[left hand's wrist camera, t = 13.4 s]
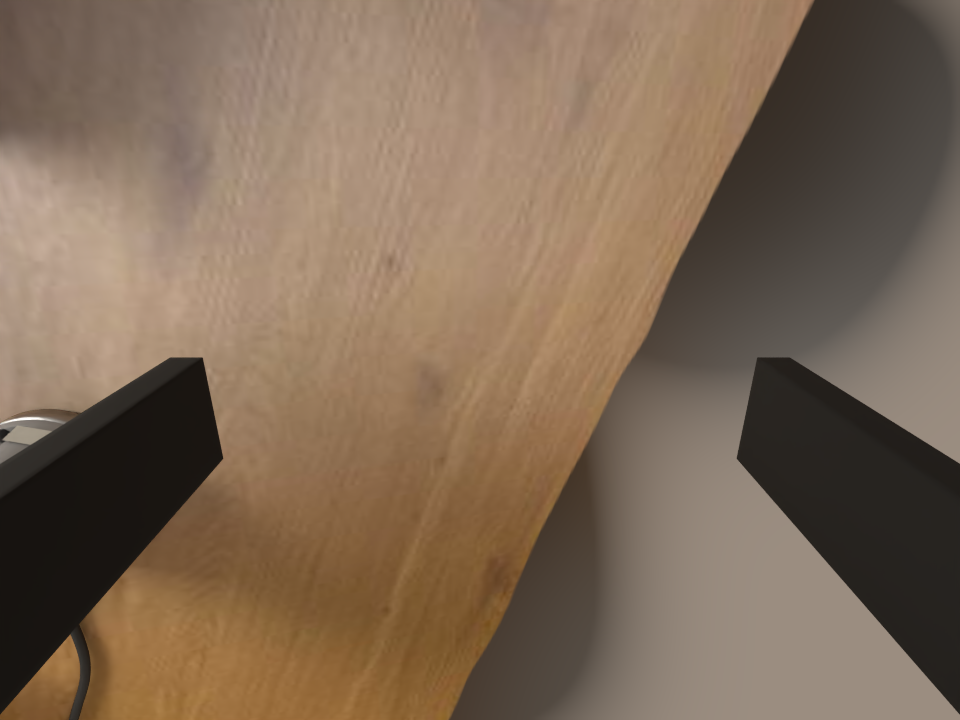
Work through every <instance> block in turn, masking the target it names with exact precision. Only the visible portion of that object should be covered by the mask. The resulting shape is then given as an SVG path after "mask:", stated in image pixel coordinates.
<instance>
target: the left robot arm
mask: <svg viewBox="0 0 960 720" xmlns="http://www.w3.org/2000/svg"><path fill="white" fill-rule="evenodd" d="M222 459H223V455H222V450H221V445H220V440H219V435H218V430H217V425H216V420H215V416H214V411H213V406H212V401H211V396H210V391H209V386H208V381H207V376H206V372H205V367H204V362H203V358H169V359H167V360H166V361H164V362H162V363H161V364H159V365H158V366H156V367H154V368H153V369H151V370H150V371H148V372H146V373H145V374H143V375H142V376H140V377H138V378H137V379H135V380H134V381H132V382H130V383H129V384H127V385H126V386H124V387H122V388H121V389H119V390H118V391H116V392H114V393H113V394H111V395H110V396H108V397H106V398H105V399H103V400H102V401H100V402H98V403H97V404H95V405H94V406H92V407H90V408H89V409H87V410H86V411H84V412H82V413H81V414H77V413H73V412H69V411H62V410H52V409H41V410H32V411H27V412H23V413H20V414H17V415H15V416H13V417H10V418H8V419H7V420H5V421H3V422H1V423H0V714H1V713H2V712H3V711H4V710H5V708H6V707H7V706H8V705H9V704H10V703H11V701H12V700H13V699H14V698H15V697H16V696H17V695H18V693H19V692H20V691H21V690H22V689H23V688H24V687H25V685H26V684H27V683H28V682H29V681H30V680H31V679H32V677H33V676H34V675H35V674H36V673H37V672H38V671H39V669H40V668H41V667H42V666H43V665H44V664H45V662H46V661H47V660H48V659H49V658H50V657H51V656H52V654H53V653H54V652H55V651H56V650H57V649H58V648H59V646H60V645H61V644H62V643H63V642H64V641H65V640H66V638H67V637H68V636H69V635H70V634H71V636H72V639H73V641H74V644H75V647H76V649H77V653H78V656H79V661H80V682H79V687H78V690H77V694H76V697H75V700H74V703H73V707H72V710H71V714H70V717H69V720H78V719H79V716H80V712H81V709H82V706H83V702H84V699H85V696H86V693H87V690H88V686H89V681H90V672H91V666H90V656H89V651H88V647H87V644H86V641H85V638H84V635H83V633H82V630H81V628H80V625H79V624H80V622H81V621H82V620H83V619H84V618H85V617H86V615H87V614H88V613H89V612H90V611H91V610H92V609H93V607H94V606H95V605H96V604H97V603H98V602H99V601H100V599H101V598H102V597H103V596H104V595H105V594H106V593H107V591H108V590H109V589H110V588H111V587H112V586H113V585H114V583H115V582H116V581H117V580H118V579H119V578H120V576H121V575H122V574H123V573H124V572H125V571H126V570H127V568H128V567H129V566H130V565H131V564H132V563H133V562H134V560H135V559H136V558H137V557H138V556H139V555H140V554H141V552H142V551H143V550H144V549H145V548H146V547H147V546H148V544H149V543H150V542H151V541H152V540H153V539H154V537H155V536H156V535H157V534H158V533H159V532H160V531H161V529H162V528H163V527H164V526H165V525H166V524H167V523H168V521H169V520H170V519H171V518H172V517H173V516H174V515H175V513H176V512H177V511H178V510H179V509H180V508H181V507H182V505H183V504H184V503H185V502H186V501H187V500H188V498H189V497H190V496H191V495H192V494H193V493H194V492H195V490H196V489H197V488H198V487H199V486H200V485H201V484H202V482H203V481H204V480H205V479H206V478H207V477H208V476H209V474H210V473H211V472H212V471H213V470H214V469H215V468H216V466H217V465H218V464H219V463H220V462H221V461H222ZM737 459H738V461H739V462H740V463H741V464H742V465H743V466H744V468H745V469H746V470H747V471H748V472H749V473H750V474H751V476H752V477H753V478H754V479H755V480H756V481H757V482H758V484H759V485H760V486H761V487H762V488H763V489H764V490H765V492H766V493H767V494H768V495H769V496H770V497H771V498H772V500H773V501H774V502H775V503H776V504H777V505H778V506H779V508H780V509H781V510H782V511H783V512H784V513H785V514H786V516H787V517H788V518H789V519H790V520H791V521H792V523H793V524H794V525H795V526H796V527H797V528H798V529H799V531H800V532H801V533H802V534H803V535H804V536H805V537H806V539H807V540H808V541H809V542H810V543H811V544H812V546H813V547H814V548H815V549H816V550H817V551H818V552H819V554H820V555H821V556H822V557H823V558H824V559H825V560H826V562H827V563H828V564H829V565H830V566H831V567H832V568H833V570H834V571H835V572H836V573H837V574H838V575H839V576H840V578H841V579H842V580H843V581H844V582H845V583H846V584H847V586H848V587H849V588H850V589H851V590H852V591H853V593H854V594H855V595H856V596H857V597H858V598H859V599H860V601H861V602H862V603H863V604H864V605H865V606H866V607H867V609H868V610H869V611H870V612H871V613H872V614H873V615H874V617H875V618H876V619H877V620H878V621H879V622H880V623H881V625H882V626H883V627H884V628H885V629H886V630H887V632H888V633H889V634H890V635H891V636H892V637H893V638H894V640H895V641H896V642H897V643H898V644H899V645H900V646H901V648H902V649H903V650H904V651H905V652H906V653H907V654H908V656H909V657H910V658H911V659H912V660H913V661H914V663H915V664H916V665H917V666H918V667H919V668H920V669H921V671H922V672H923V673H924V674H925V675H926V676H927V677H928V679H929V680H930V681H931V682H932V683H933V684H934V685H935V687H936V688H937V689H938V690H939V691H940V692H941V693H942V695H943V696H944V697H945V698H946V699H947V700H948V701H949V703H950V704H951V705H952V706H953V707H954V708H955V710H956V711H957V712H958V713H959V714H960V464H959V463H958V462H956V461H954V460H953V459H951V458H950V457H948V456H946V455H945V454H943V453H942V452H940V451H938V450H937V449H935V448H934V447H932V446H930V445H929V444H927V443H926V442H924V441H922V440H921V439H919V438H918V437H916V436H914V435H913V434H911V433H910V432H908V431H906V430H905V429H903V428H902V427H900V426H898V425H897V424H895V423H894V422H892V421H890V420H889V419H887V418H886V417H884V416H882V415H881V414H879V413H878V412H876V411H874V410H873V409H871V408H870V407H868V406H866V405H865V404H863V403H862V402H860V401H858V400H857V399H855V398H854V397H852V396H850V395H849V394H847V393H846V392H844V391H842V390H841V389H839V388H838V387H836V386H834V385H833V384H831V383H830V382H828V381H826V380H825V379H823V378H822V377H820V376H818V375H817V374H815V373H814V372H812V371H810V370H809V369H807V368H806V367H804V366H802V365H801V364H799V363H798V362H796V361H794V360H793V359H791V358H757V362H756V367H755V372H754V376H753V381H752V386H751V391H750V396H749V401H748V406H747V411H746V416H745V420H744V425H743V430H742V435H741V440H740V445H739V450H738V455H737Z"/></svg>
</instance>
